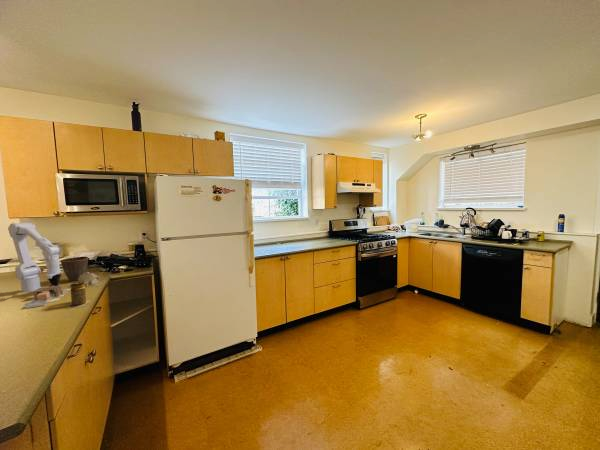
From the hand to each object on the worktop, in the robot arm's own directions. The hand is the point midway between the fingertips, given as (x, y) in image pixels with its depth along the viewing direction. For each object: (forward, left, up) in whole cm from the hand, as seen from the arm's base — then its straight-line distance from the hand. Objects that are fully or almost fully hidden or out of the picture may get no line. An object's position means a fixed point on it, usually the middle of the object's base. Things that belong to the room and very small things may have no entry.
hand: (55, 286), depth 155 cm
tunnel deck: (+10, 0, -4) cm, 11 cm away
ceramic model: (-6, +15, -4) cm, 16 cm away
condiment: (+31, +19, -4) cm, 36 cm away
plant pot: (-27, +3, -4) cm, 28 cm away
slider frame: (+16, 0, -3) cm, 16 cm away
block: (+17, 0, -3) cm, 17 cm away
